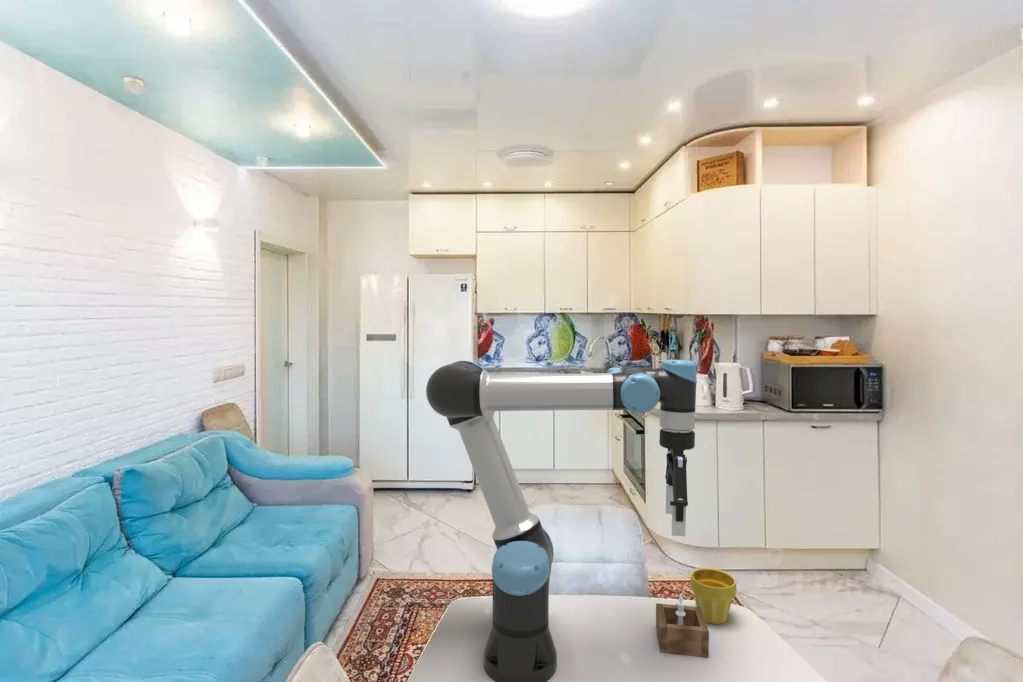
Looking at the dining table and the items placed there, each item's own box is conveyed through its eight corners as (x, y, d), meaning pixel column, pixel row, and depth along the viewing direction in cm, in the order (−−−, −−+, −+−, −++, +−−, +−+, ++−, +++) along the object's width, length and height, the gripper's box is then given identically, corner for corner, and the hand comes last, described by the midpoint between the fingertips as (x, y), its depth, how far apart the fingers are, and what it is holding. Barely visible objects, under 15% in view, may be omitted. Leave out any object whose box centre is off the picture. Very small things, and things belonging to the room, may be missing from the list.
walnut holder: (659, 654, 116) (660, 626, 116) (655, 628, 126) (656, 603, 125) (708, 659, 114) (709, 631, 114) (700, 633, 124) (700, 607, 124)
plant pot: (740, 631, 124) (740, 589, 124) (693, 626, 126) (693, 585, 126) (731, 608, 134) (731, 569, 134) (687, 604, 136) (688, 565, 136)
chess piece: (672, 644, 118) (672, 599, 117) (666, 631, 122) (666, 588, 122) (694, 645, 117) (695, 599, 117) (688, 632, 122) (688, 588, 122)
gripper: (704, 442, 107) (701, 547, 107) (687, 420, 131) (684, 506, 132) (665, 439, 108) (662, 544, 109) (655, 419, 133) (653, 504, 133)
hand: (674, 524), depth 120 cm, fingers open, 13 cm apart
